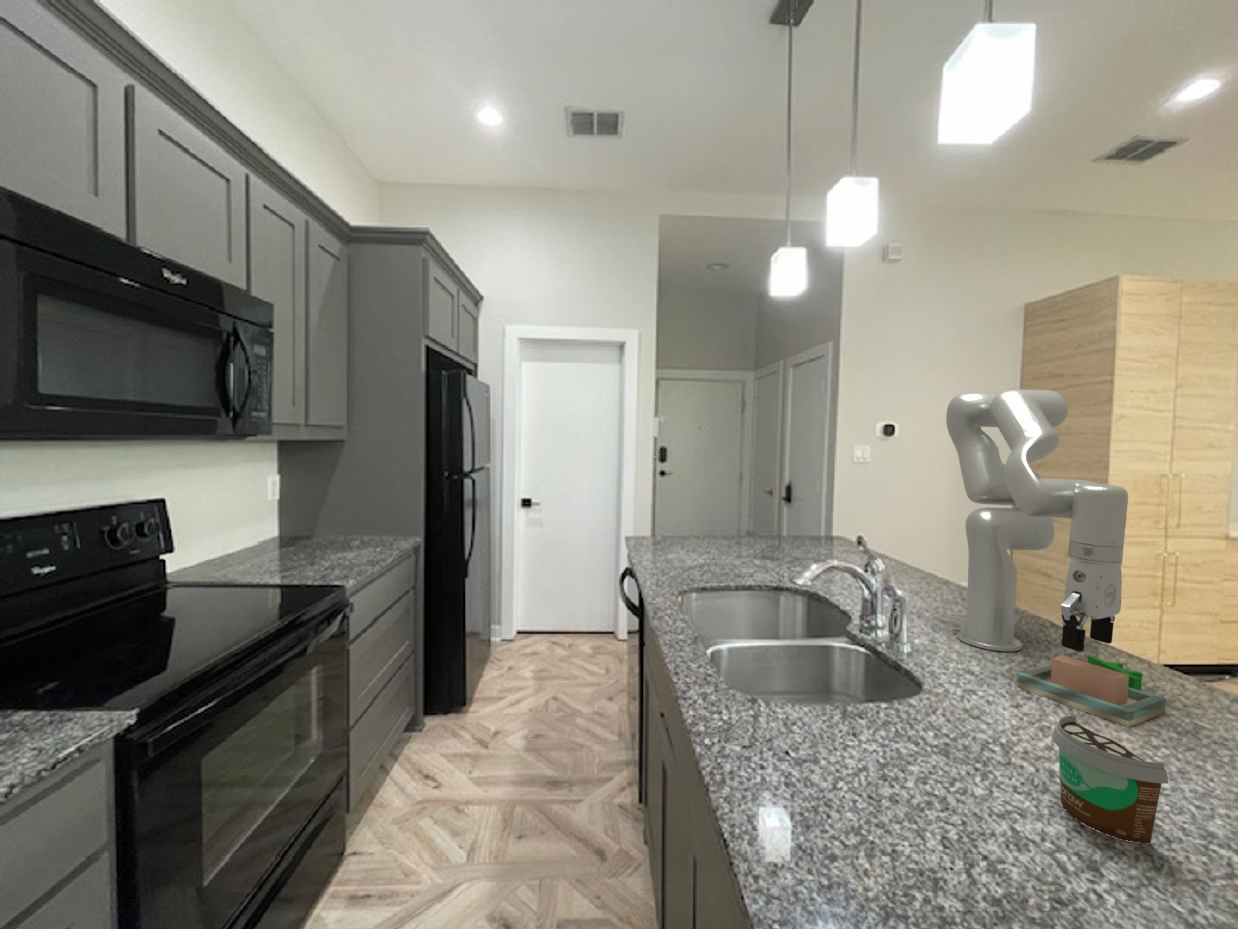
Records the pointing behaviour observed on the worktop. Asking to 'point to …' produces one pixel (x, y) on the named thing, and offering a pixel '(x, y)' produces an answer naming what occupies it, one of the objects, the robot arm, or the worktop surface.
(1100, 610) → the robot arm
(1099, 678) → the salmon pink rectangular block
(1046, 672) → the nest board
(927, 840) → the worktop surface
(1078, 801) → the food container
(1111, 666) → the pipe clamp
